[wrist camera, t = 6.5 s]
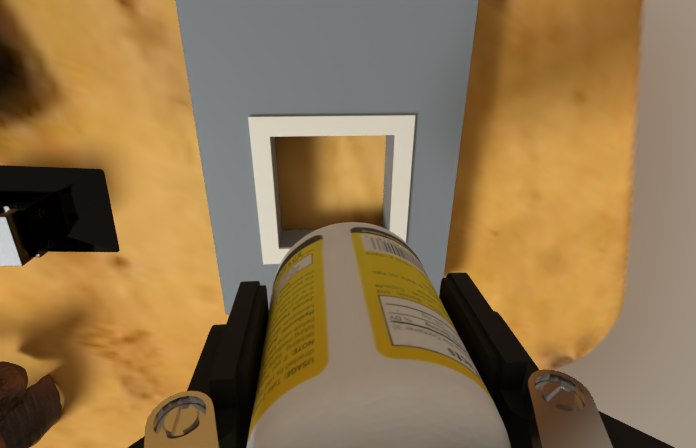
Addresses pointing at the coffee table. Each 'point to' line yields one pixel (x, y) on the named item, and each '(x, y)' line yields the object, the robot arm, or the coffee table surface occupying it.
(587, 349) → the coffee table surface
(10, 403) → the pottery mug
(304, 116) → the board
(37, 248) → the black stand
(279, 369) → the supplement bottle
